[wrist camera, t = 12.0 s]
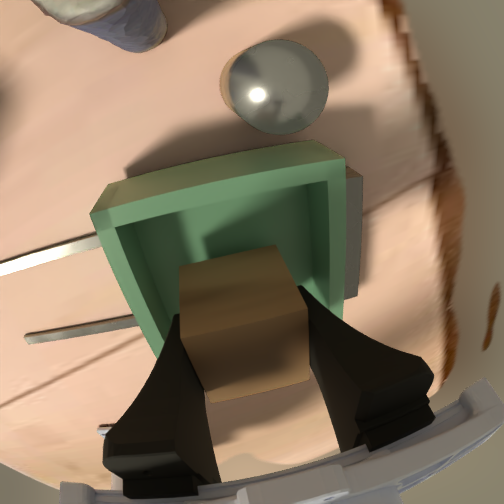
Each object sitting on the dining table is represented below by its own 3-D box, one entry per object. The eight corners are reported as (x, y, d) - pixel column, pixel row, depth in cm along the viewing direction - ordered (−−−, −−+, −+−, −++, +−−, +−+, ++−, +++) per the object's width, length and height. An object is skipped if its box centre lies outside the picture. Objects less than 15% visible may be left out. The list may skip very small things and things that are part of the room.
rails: (347, 281, 21) (357, 296, 19) (34, 347, 19) (28, 363, 17) (348, 166, 16) (362, 176, 15) (-22, 260, 14) (-33, 274, 13)
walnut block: (283, 314, 17) (309, 379, 13) (202, 333, 17) (211, 403, 13) (275, 244, 15) (307, 308, 11) (179, 266, 14) (180, 338, 10)
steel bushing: (298, 114, 15) (332, 128, 11) (226, 125, 14) (239, 142, 11) (289, 45, 13) (323, 37, 9) (213, 54, 12) (223, 45, 9)
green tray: (317, 312, 22) (339, 355, 18) (176, 345, 21) (178, 394, 17) (308, 136, 15) (345, 158, 12) (111, 179, 14) (89, 213, 11)
